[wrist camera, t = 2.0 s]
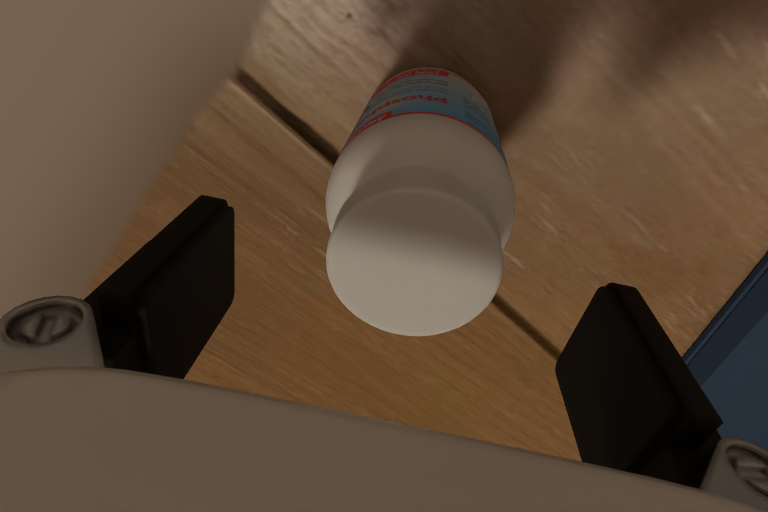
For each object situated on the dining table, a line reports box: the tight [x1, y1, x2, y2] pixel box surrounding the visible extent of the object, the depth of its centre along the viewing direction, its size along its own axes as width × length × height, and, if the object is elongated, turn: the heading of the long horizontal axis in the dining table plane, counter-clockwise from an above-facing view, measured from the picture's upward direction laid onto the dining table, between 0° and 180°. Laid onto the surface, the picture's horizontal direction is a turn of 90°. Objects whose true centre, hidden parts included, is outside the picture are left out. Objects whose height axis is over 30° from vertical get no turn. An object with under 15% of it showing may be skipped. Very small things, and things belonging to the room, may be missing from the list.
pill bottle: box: [326, 67, 515, 336], centre depth 16 cm, size 6×6×11 cm
